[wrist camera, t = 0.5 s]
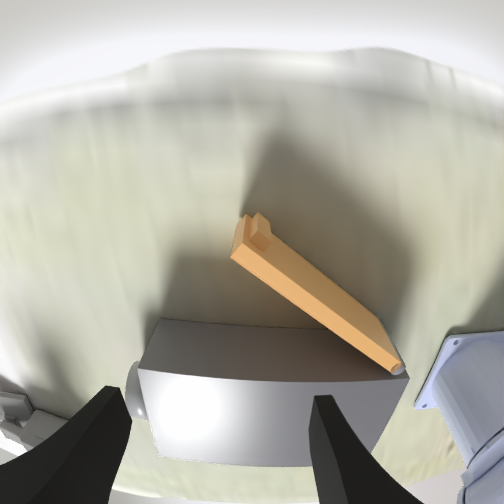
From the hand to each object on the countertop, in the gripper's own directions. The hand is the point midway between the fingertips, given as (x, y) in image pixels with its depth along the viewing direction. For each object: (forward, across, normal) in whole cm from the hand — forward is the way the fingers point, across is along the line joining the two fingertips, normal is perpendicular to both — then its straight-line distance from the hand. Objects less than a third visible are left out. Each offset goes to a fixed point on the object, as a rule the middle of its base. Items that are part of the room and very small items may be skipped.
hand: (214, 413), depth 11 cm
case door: (+9, -5, -1) cm, 11 cm away
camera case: (+9, -2, +7) cm, 12 cm away
